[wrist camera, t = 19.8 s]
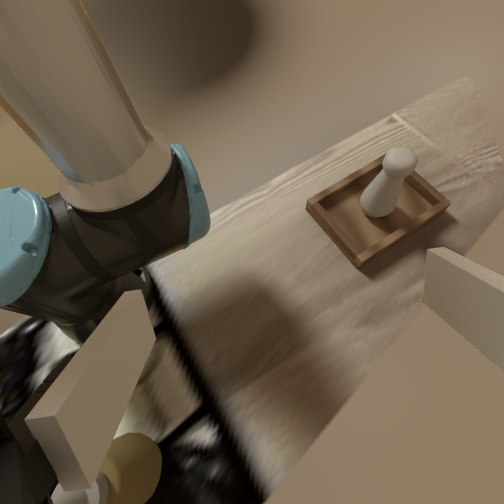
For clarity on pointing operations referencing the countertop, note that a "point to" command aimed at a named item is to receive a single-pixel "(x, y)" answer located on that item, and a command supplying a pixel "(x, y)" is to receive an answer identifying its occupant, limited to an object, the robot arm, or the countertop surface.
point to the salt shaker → (388, 183)
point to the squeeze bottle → (121, 474)
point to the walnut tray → (367, 228)
